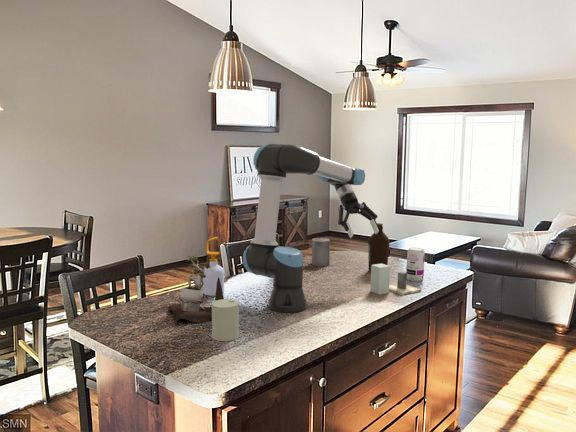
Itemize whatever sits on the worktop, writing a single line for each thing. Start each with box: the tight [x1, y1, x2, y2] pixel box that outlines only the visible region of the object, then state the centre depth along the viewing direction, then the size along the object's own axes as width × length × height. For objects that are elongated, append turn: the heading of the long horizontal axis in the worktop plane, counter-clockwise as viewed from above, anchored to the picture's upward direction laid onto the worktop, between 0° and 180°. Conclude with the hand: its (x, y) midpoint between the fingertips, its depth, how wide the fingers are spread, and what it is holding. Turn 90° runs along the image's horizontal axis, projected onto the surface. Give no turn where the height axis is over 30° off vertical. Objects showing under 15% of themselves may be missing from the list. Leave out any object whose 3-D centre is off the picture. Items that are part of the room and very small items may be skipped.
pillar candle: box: [311, 237, 331, 267], centre depth 282 cm, size 10×10×15 cm
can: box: [211, 298, 240, 342], centre depth 175 cm, size 9×9×12 cm
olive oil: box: [367, 222, 390, 274], centre depth 266 cm, size 11×11×25 cm
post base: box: [389, 271, 422, 296], centre depth 234 cm, size 12×12×8 cm
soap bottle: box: [202, 236, 225, 297], centre depth 224 cm, size 9×9×25 cm
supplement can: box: [405, 247, 426, 282], centre depth 253 cm, size 8×8×15 cm
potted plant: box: [168, 254, 225, 325], centre depth 198 cm, size 20×19×25 cm
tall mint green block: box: [369, 264, 391, 295], centre depth 230 cm, size 6×6×12 cm
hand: (364, 234), depth 237 cm, fingers open, 13 cm apart
